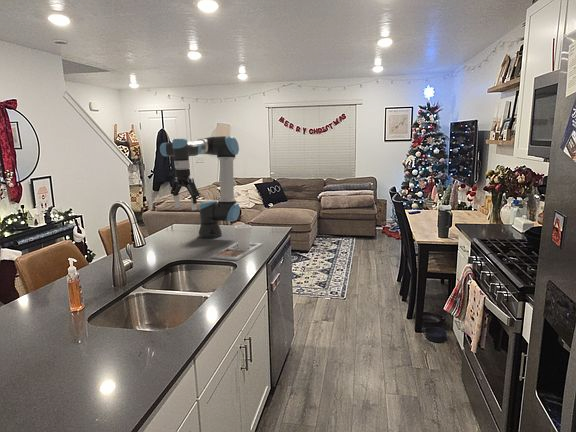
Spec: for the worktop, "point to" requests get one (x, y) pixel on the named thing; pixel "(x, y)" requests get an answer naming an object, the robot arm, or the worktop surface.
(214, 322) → the worktop surface
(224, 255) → the flat grey tray
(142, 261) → the worktop surface
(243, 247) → the foam cup
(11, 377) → the worktop surface
